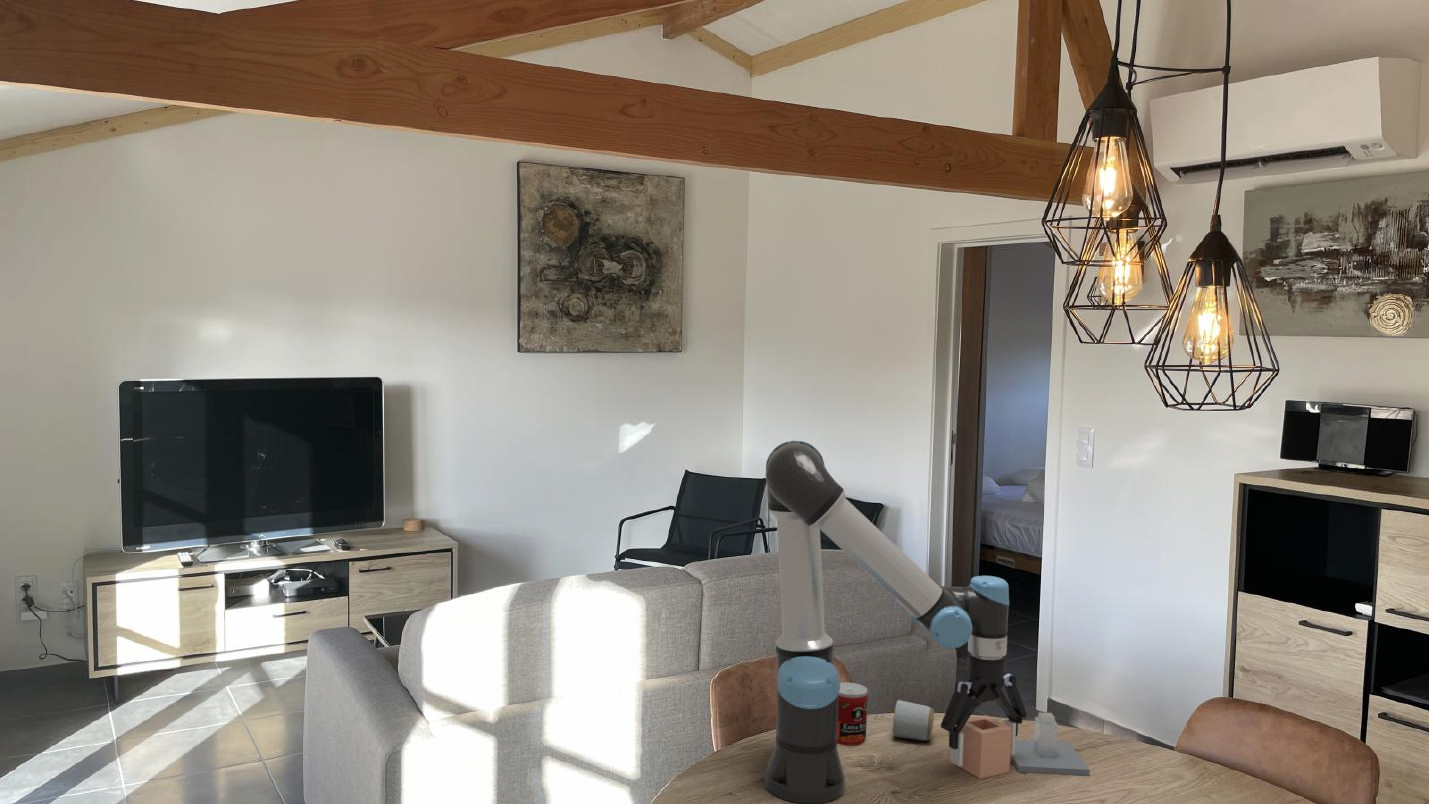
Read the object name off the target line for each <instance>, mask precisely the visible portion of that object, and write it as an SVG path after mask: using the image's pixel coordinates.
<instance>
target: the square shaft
mask: <svg viewBox="0 0 1429 804" xmlns="http://www.w3.org/2000/svg"><path fill="white" fill-rule="evenodd" d="M1058 728H1059V726H1058V722H1057V721H1056V717H1055V716H1054V714H1053V713H1052V712H1039V711H1038V716H1035V717H1034V735H1033V736H1034V738H1033V741H1034V751H1035V753H1036V754H1037V756H1038V757H1050V758H1056V749H1057V742H1058V730H1059V729H1058Z"/></svg>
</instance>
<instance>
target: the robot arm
mask: <svg viewBox="0 0 1429 804" xmlns="http://www.w3.org/2000/svg"><path fill="white" fill-rule="evenodd" d="M767 457H768V458H767V460H766V462H765V463H766V464H765V480H766V488H767V489H766V490H767V504H768V512H770V513H771V514H772V515H773V516H774V517H775V518H776V528H777V529H776V532H777V533H776V535H777V550H778V551H777V553H778V554H777V555H778V571H779V587H780V588H779V591H780V607H781V610H780V611H781V627H782V628H781V629H782V634H781V635H780V636H779V637H778V638H777V639H776V641H775V655H776V688H777V691H776V692H777V694H776V695H777V696H776V697H777V698H776V722H775V745H774V748H773V751H772V753H771V756H770V759H769V762H768V764H767V768H766V770H765V774H764V775H765V778H764V779H765V780H764V784H765V788H766V789H767V791H768V792H769V793H771V794H772V795H773V796H775V797H777V798H780V799H783V800H786V801H789V802H794V803H800V804H801V803H802V804H820V803H821V804H822V803H827V802H832V801H835V800H836V799H838V798H840V797H841V796H842V795H843V794H844V792H845V785H846V783H845V782H846V778H845V777H846V776H845V773H844V770H843V766H842V762H841V759H840V756H839V752H838V743H837V728H838V701H839V691H840V683H841V681H840V675H839V674H840V672H839V671H838V669H837V667H836V666H835V657H834V656H835V655H834V641H833V638H832V637H831V636H830V635H829V634H828V633H826V627H825V626H826V625H825V607H824V589H823V569H822V567H823V565H822V563H823V562H822V545H821V532H822V533H823V534H825V536H826V537H828V538H829V539H830V540H831V541H832V542H833V543H834V544H835V545H836V546H837V547H838V548H839V549H841V550H842V551H843V552H844V554H846V555H847V556H848V557H849V558H850V559H851V560H853V562H855V564H856V565H858V566H859V567H860V568H861V569H862V570H863V571H864V572H865V573H866V574H867V575H869V576H870V577H871V578H872V580H874V581H875V582H876V583H877V584H878V585H879V586H880V587H881V588H882V589H884V590H885V591H886V592H887V593H888V594H889V595H890V596H891V597H892V598H893V599H895V601H896V602H897V603H898V604H899V605H900V606H902V607H903V608H904V609H905V610H906V611H907V612H908V614H909V615H908V616H909V619H910V621H911V622H912V623H913V624H920V625H921V626H922V627H924V628H925V629H926V630H927V631H928V632H929V633H930V634H931V637H932V638H933V640H934V641H936V642H937V644H939V645H940V646H942V647H943V648H948V649H958V648H960V647H962V646H964V645H965V644H967V651H968V652H969V653H968V654H967V665H966V666H967V669H966V670H967V674H968V676H969V677H968V680H967V681H961V680H959V679H958V680H956V681H955V684H954V685H955V686H954V692H953V694H952V696H951V699H950V701H949V703H948V705H947V709H946V711H945V713H944V715H943V719H942V721H941V723H940V727H941V729H943V730H945V731H947V732H948V746H949V748H950V762H951V763H952V764H954V765H956V766H957V767H959V768H961V767H960V766H962V762H963V736H964V734H963V733H961V730H962V729H963V727H964V725H965V724H966V722H967V721H968V719H969V718H971V716H972V714H973V713H974V711H975V710H976V708H977V707H979V706H980V705H981V704H982V703H983V704H984V703H987V702H994V701H995V703H996V704H997V705H998V707H1000V709H1001V711H1002V712H1003V713H1004V715H1005V716H1006V718H1005V719H1003V724H1004V725H1006V726H1008V727H1010V728H1012V730H1011V751H1010V755H1015V740H1016V738H1017V736H1018V733H1019V730H1018V729H1019V724H1022V723H1023V719H1026V718H1027V716H1028V715H1027V711H1026V708H1025V705H1024V703H1023V701H1022V697H1021V694H1020V692H1019V689H1018V686H1017V677H1016V675H1013V674H1010V673H1008V672H1007V658H1006V655H1007V651H1008V647H1007V646H1008V627H1009V626H1008V625H1009V624H1008V623H1009V607H1010V596H1009V593H1010V592H1009V591H1010V590H1009V589H1010V587H1009V584H1008V582H1007V581H1006V579H1003V578H1001V577H998V576H993V575H976V576H973V577H972V578H971V579H970V582H969V583H970V584H969V585H968V586H947V585H946V586H943V585H940V586H939V584H937V583H936V582H935V581H934V580H933V579H932V578H931V577H930V576H929V575H928V574H927V573H926V572H925V571H923V569H922V568H920V567H919V566H918V565H917V564H916V563H915V562H914V561H913V560H912V559H910V557H909V556H907V554H905V553H904V551H902V550H901V549H900V548H899V547H898V546H897V545H896V544H895V543H894V542H893V541H891V540H890V539H889V538H888V537H887V536H886V535H885V533H883V532H882V531H881V530H880V529H879V528H878V527H876V525H875V524H873V522H871V521H870V520H869V519H868V518H867V517H866V516H865V515H864V514H863V513H862V512H861V511H859V509H858V508H856V507H855V505H854V504H852V503H851V502H850V501H849V499H847V498H846V490H845V489H844V488H843V487H842V486H841V485H840V484H839V483H838V482H837V481H836V480H835V479H834V478H833V476H832V475H831V474H830V472H829V471H828V469H827V468H826V467H825V461H824V459H823V456H822V454H821V452H820V451H819V450H818V449H817V447H815V446H813V445H812V444H811V443H808V442H806V441H802V440H789V441H785V442H783V443H780V444H779V445H777V446H776V447H775V448H774V449H773V450H772V451H771V452H770V453H769V455H768V456H767ZM1003 687H1004V689H1005V692H1006V694H1005V693H1004V691H1003ZM1006 695H1007V696H1006ZM1007 697H1008V699H1007ZM956 725H957V726H956Z"/></svg>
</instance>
